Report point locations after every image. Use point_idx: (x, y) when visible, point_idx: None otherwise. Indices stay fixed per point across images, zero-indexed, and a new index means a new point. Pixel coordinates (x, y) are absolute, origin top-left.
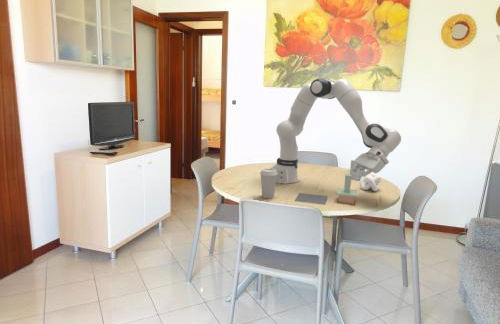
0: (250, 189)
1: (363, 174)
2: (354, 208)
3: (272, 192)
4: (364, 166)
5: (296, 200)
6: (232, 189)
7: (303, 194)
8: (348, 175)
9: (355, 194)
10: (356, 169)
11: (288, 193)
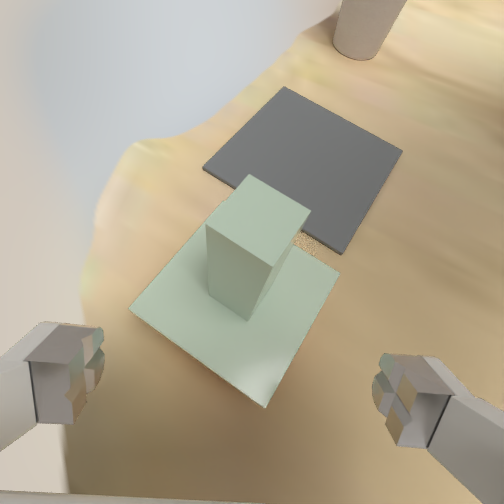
0: (449, 37)
1: (34, 335)
2: (101, 283)
3: (343, 21)
4: (120, 500)
5: (289, 95)
6: (442, 2)
7: (376, 155)
8: (238, 204)
9: (149, 310)
10: (445, 449)
11: (402, 118)
